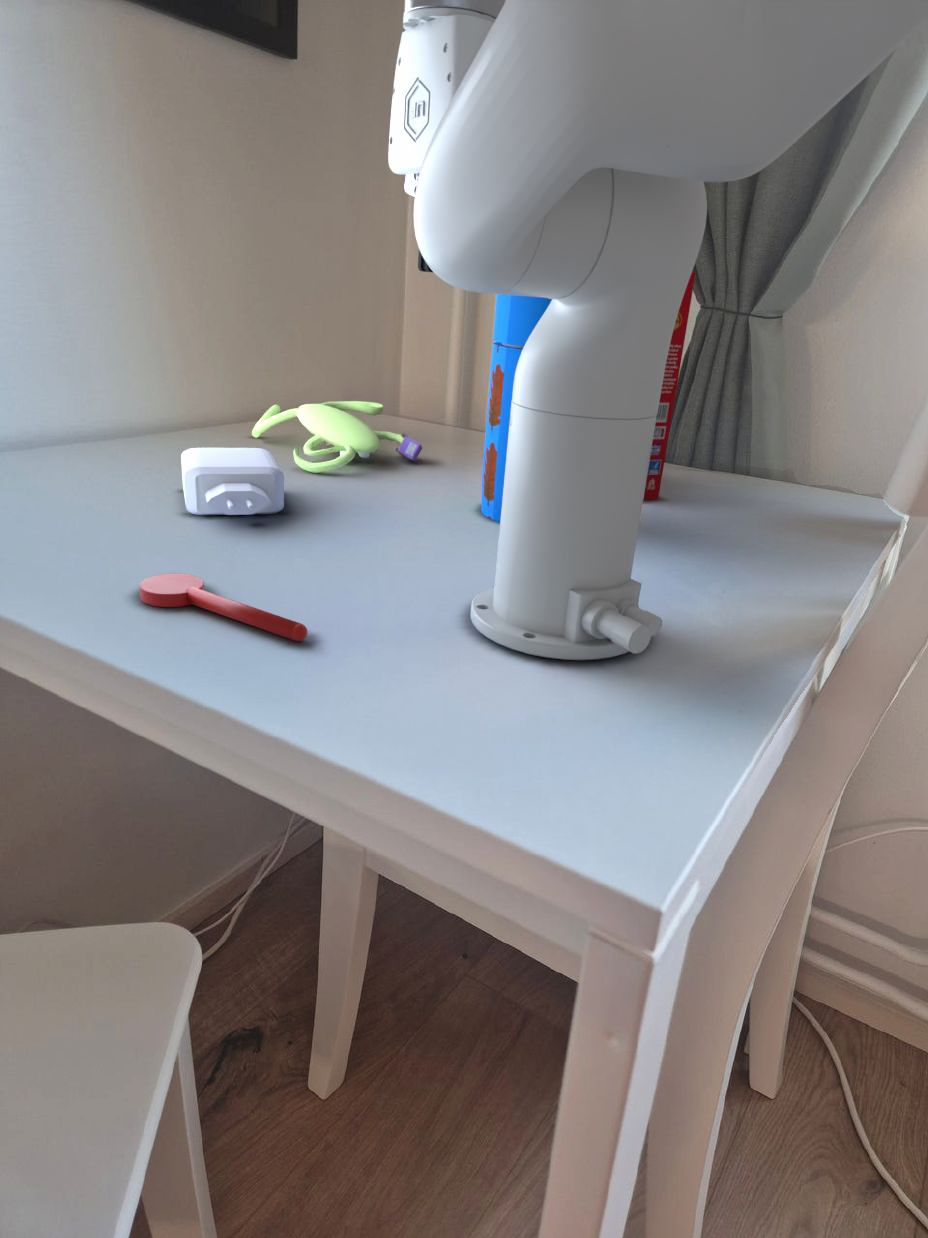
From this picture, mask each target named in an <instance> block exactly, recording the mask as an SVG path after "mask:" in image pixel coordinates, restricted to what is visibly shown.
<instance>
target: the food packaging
mask: <svg viewBox="0 0 928 1238" xmlns="http://www.w3.org/2000/svg"><path fill="white" fill-rule="evenodd" d="M695 279H696V272H692V273H691V276H690V279H689V281H688V284H687V287H686V290H685V293H684V296H683V299H682V302H681V305H680V308H679V311H678V315H677V319H676V322H675V326H674V330H673V333H672V338H671V342H670V347H669V351H668V356H667V361H666V366H665V372H664V377H663V383H662V389H661V395H660V401H659V408H658V414H657V416H656V423H655V429H654V435H653V442H652V448H651V454H650V461H649V467H648V473H647V479H646V486H645V492H644V498H643V501H647V500H649V501H650V500H659V496H660V490H661V485H662V479H663V473H664V467H665V460H666V456H667V455H666V454H667V449H668V442H669V437H670V431H671V425H672V420H673V419H672V418H673V411H674V406H675V400H676V394H677V388H678V382H679V376H680V371H681V364H682V358H683V351H684V347H685V340H686V334H687V327H688V321H689V317H690V316H689V315H690V310H691V309H690V308H691V303H692V298H693V291H694V285H695Z"/></svg>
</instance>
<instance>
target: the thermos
mask: <svg viewBox="0 0 928 1238" xmlns="http://www.w3.org/2000/svg"><path fill="white" fill-rule="evenodd" d="M551 301H552V299H549V298H545V297H530V296H515V295H500V294H496V299H495V310H494V323H493V324H494V325H493V334H492V335H493V337H492V340H493V343H492V348H491V361H490V374H489V386H488V398H487V399H488V400H487V410H486V411H487V412H486V423H485V424H486V425H485V434H484V435H485V436H484V448H483V461H482V474H481V508H480V509H481V510H480V511H481V513H482V514H483V516H484V517H486V518H488V519H490V520H491V521H494V522H497V523H500V521H501V510H502V499H503V488H504V477H505V466H506V456H507V445H508V434H509V423H510V412H511V401H512V394H513V384H514V377H515V371H516V367H517V364H518V361H519V358H520V355H521V352H522V350H523V348H524V346H525V344H526V342H527V340H528V338H529V336H530V335H531V333H532V331H533V330H534V328H535V326H536V325H537V323H538V322H539V320H540V319H541V317H542V316H543V314H544V312H545V311H546V309H547V308H548V306H549V304H550V303H551Z"/></svg>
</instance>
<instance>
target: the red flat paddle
mask: <svg viewBox="0 0 928 1238" xmlns="http://www.w3.org/2000/svg"><path fill="white" fill-rule="evenodd" d="M139 593H140V594H139V595H140V596H139V597H140V600H141V601H142V602H143V603H144V604H147V605H149V606H153V607H159V608H178V607H187V606H190V605H193V606H196V607H199V608H202V609H205V610H207V611H209V612H212V613H216V614H219V615H221V616H224V617H227V618H230V619H232V620H235V621H238V622H240V623H244V624H247V625H249V626H252V627H255V628H258V629H261V630H263V631H266V632H269V633H272V634H275V635H277V636H280V637H282V638H286V639H289V640H292V641H295V642H302V641H304V640H305V639H306V638H307V637H308V628H307V626H305V624H303V623H300V622H297V621H295V620H292V619H290V618H286V617H283V616H280V615H277V614H275V613H271V612H270V611H269V612H268V611H265V610H262V609H260V608H257V607H254V606H251V605H248V604H245V603H242V602H239V601H236V600H233V599H231V598H227V597H225V596H221V595H219V594H216V593H213V592H209V591H207V590H205V581H204V580H203V579H202V577H199V576H197V575H194V574H191V573H190V574H189V573H182V572H181V573H180V572H170V573H161V574H160V573H159V574H155V575H152V576H149V577H146V578H144V579H143V580H142V581H141V582H140V583H139Z"/></svg>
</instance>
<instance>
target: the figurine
mask: <svg viewBox="0 0 928 1238" xmlns="http://www.w3.org/2000/svg"><path fill="white" fill-rule="evenodd" d="M344 410H345V411H344ZM346 410H349V411H356V412H359V413H362V414H365V415H368V416H378V415H379V416H380V415H381V414H382V412H383V411H384V405H383V404H381V403H379V402H373V401H362V400H350V401H349V400H339V401H325V402H322V403H304V404H302V405H300V406H298V408H290V409H287V410H285V411H282V408H281V406H280V405H279V404H274V405H272V406H271V407H269V408H268V409H267V410H266V412H264V414H263V415H262V417H260V418H259V420H258V421H257V422H256V423H255V424H254V426H253V428H252V430H251V436H252V437H254V438H259V437H260V436H261V434H264V433H265V432H266V431H268V430H270V428H272V427H274V426H277V425H278V424H280V423H283V422H286V421H289V420H291V419H295V418H298V420H299V422H300V423H301V424H302V426H303V427H305V428H306V429H307V430H308V432H309V433H311V434H312V435H314V436H312V437H310V438H309V439H308V440H307V441H306V442H305V444H304V445H303V454H304V455H306V456H309V457H318V456H323V455H328V454H332V453H337V452H338V453H339V456H338V457H336V458H335V459H330V460H327V461H322V462H311V461H307V460H305V459H303V458H302V457H301V455H300V450H299V448H298V447H295V448H294V449H293V454H292V455H293V459H294V463H295V464H296V465H297V466H298V467H299V468H300V469H302V470H304V471H307V472H309V473H315V474H317V473H325V472H331V471H334V470H337V469H340V468H343V466H344V467H345V465H347V464H348V463H350V462H351V461H352V460H354V459H355V456H356V453H357V454H358V456H359V457H360V458H362V459H369V457H370V454H371V453H373V452H377V450H379V449H380V447H381V440H387V441H392V442H393V441H394V442H398V443H400V445H399V447H396V448H395V449H394V450H395V452H396V453H398V454H399V455H401V456H403V457H404V458H408V459H410V460H412V461H415V462H416V460H417V459H418V457H419V455H420V453H421V452H422V450H423V446H422V444H421V443H419V442H418V441H416V440H414V439H412V438H411V437H409V436H408V435H407V434H406V433H401V434H399V433H396V432H391V431H380V430H374V429H373V428H372V427H371V426H370V425H368V424H367V423H366V422H364V420H362V419H360V418H358V417H357V416H355V415H353V414H351V413H350V412H347V411H346ZM324 442H325V443H327V444H326V446H328V445H332V446H331V447H328V448H327V447H326V448H322V449H317V450H314V449H315V447H317V446H318V445H320V444H321V443H324Z"/></svg>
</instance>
